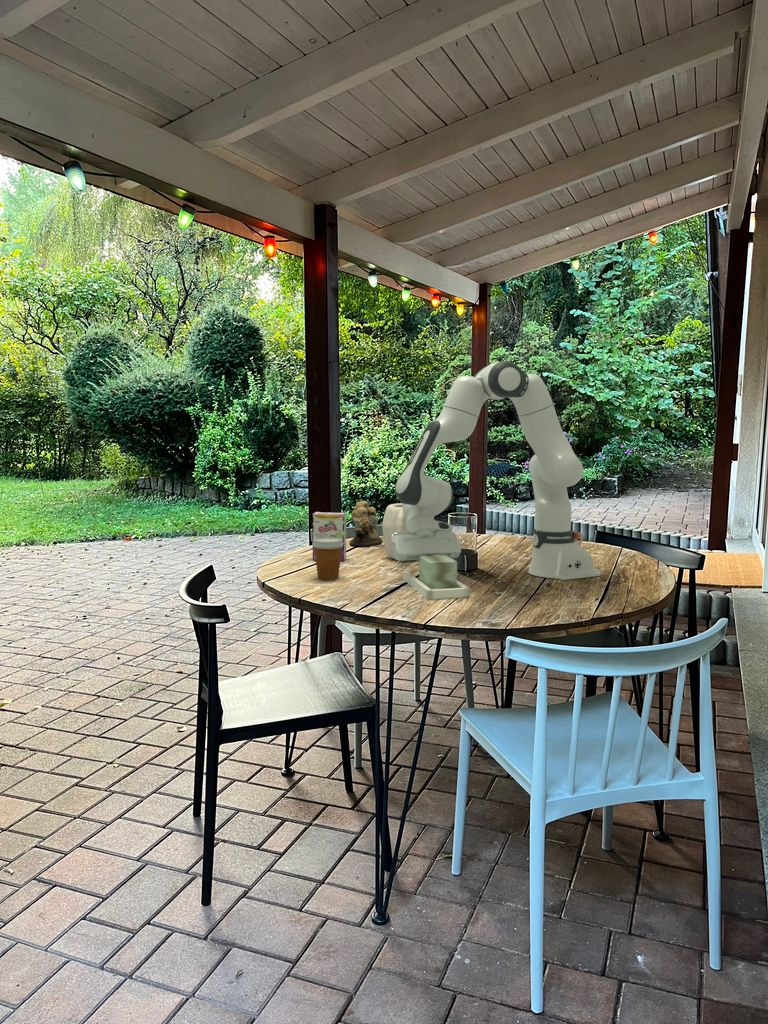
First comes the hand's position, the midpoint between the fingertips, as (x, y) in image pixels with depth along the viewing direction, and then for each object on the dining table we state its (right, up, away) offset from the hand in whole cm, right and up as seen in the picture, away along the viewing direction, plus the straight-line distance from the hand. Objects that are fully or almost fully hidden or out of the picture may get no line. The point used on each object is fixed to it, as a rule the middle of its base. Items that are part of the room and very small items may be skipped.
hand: (431, 569), depth 212 cm
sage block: (+1, -5, -5) cm, 7 cm away
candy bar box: (-33, 0, +37) cm, 50 cm away
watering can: (-6, +1, +43) cm, 43 cm away
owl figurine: (-21, +4, +69) cm, 72 cm away
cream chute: (0, -5, -1) cm, 5 cm away
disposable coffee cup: (-31, -3, +10) cm, 33 cm away
